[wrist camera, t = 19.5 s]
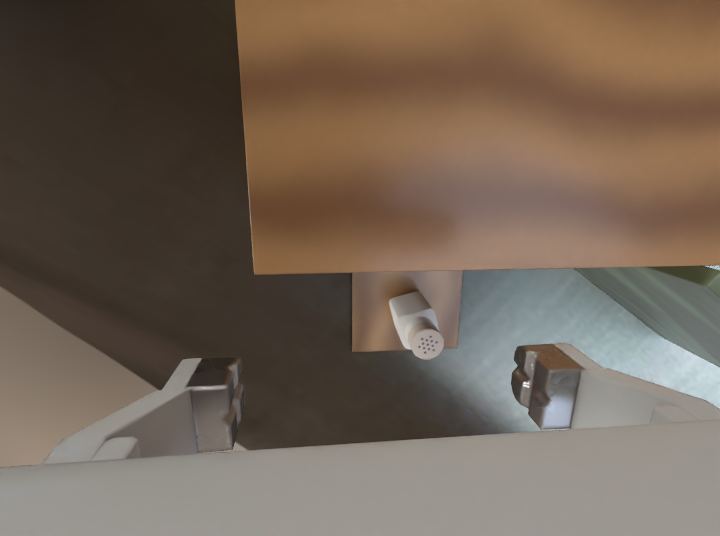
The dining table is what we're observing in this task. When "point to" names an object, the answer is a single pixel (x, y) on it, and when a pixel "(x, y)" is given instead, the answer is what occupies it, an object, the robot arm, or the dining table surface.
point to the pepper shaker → (417, 325)
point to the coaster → (378, 288)
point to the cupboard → (480, 134)
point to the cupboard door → (669, 302)
